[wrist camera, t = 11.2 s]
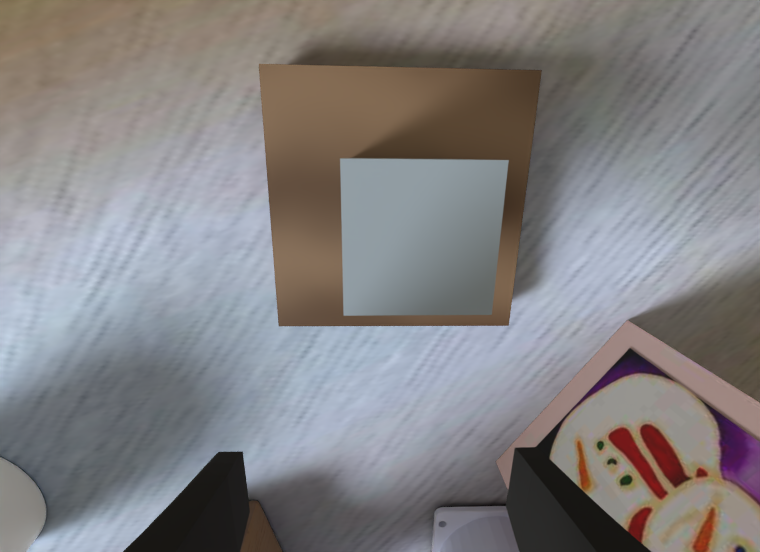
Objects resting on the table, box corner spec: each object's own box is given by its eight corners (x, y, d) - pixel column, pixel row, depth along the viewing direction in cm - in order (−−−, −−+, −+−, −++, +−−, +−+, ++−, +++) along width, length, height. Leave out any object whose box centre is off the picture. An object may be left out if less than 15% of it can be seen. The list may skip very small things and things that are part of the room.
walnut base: (494, 309, 20) (508, 325, 18) (287, 309, 19) (278, 326, 18) (521, 80, 17) (541, 70, 15) (271, 74, 16) (258, 63, 14)
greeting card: (616, 311, 20) (1219, 686, 6) (706, 376, 22) (1362, 799, 7) (485, 455, 23) (682, 951, 9) (572, 504, 24) (866, 997, 10)
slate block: (441, 252, 17) (491, 314, 10) (352, 252, 17) (343, 315, 10) (447, 158, 16) (508, 160, 9) (351, 157, 15) (339, 158, 9)
